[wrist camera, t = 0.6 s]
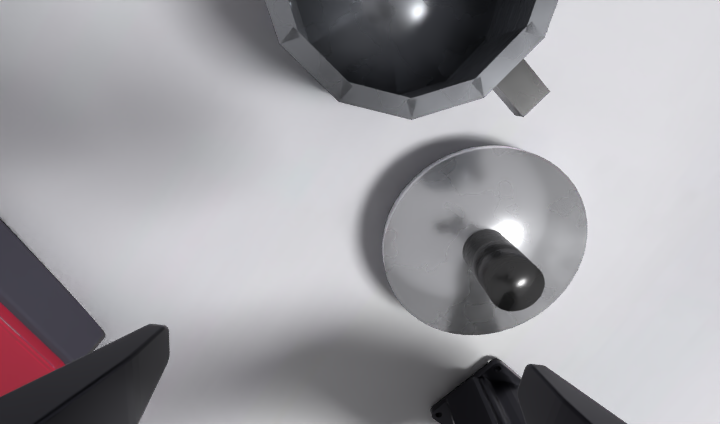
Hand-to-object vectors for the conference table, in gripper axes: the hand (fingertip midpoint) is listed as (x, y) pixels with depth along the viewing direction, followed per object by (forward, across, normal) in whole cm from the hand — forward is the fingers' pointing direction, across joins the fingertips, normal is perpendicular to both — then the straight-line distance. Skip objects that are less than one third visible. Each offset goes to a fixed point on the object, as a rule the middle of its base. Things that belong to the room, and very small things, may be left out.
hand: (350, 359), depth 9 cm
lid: (+13, -8, +1) cm, 15 cm away
